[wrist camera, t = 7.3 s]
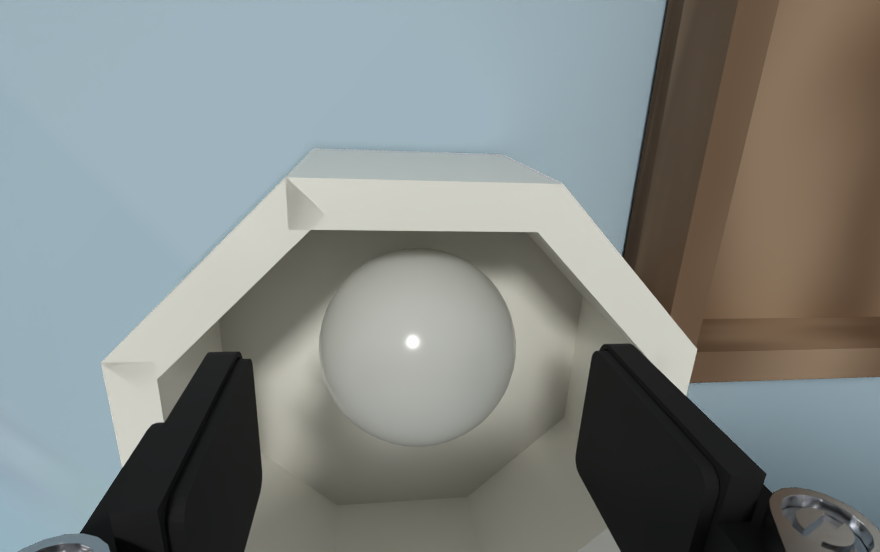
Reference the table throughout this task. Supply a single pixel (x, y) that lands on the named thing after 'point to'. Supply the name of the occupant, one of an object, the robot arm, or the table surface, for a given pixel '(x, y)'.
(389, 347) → the white ball
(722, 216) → the tray
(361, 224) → the bowl
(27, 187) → the table surface
